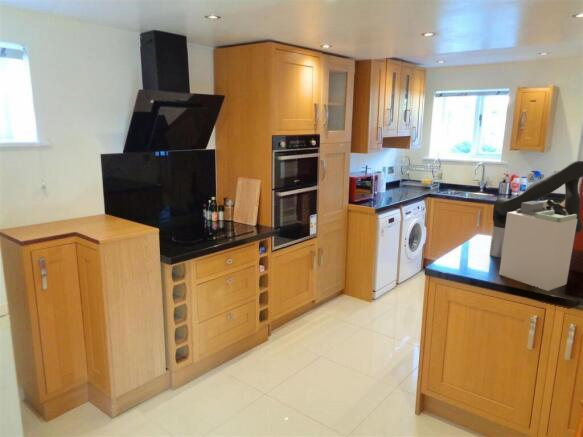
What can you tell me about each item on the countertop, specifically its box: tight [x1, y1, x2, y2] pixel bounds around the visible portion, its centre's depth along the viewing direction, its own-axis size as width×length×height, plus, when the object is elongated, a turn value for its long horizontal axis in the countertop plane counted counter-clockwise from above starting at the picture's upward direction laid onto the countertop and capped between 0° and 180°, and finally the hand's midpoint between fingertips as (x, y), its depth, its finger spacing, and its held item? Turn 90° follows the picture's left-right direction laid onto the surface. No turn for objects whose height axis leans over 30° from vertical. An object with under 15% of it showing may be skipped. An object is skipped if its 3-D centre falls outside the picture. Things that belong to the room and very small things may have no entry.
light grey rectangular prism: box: [520, 199, 554, 215], centre depth 207 cm, size 21×5×5 cm, turn 121°
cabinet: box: [498, 209, 577, 292], centre depth 202 cm, size 16×24×34 cm, turn 31°
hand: (544, 200), depth 209 cm, fingers closed on light grey rectangular prism, 2 cm apart
